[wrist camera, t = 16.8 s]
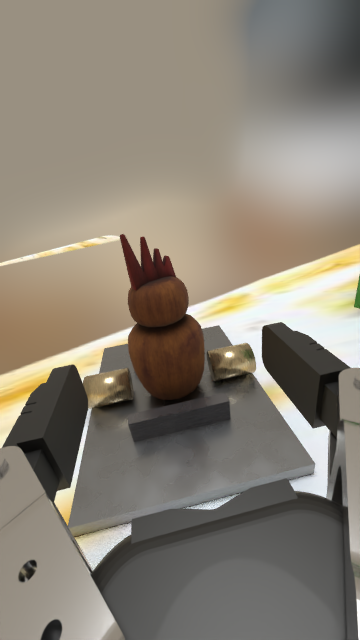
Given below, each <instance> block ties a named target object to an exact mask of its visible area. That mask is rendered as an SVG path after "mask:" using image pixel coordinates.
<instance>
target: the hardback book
mask: <svg viewBox="0 0 360 640" xmlns="http://www.w3.org/2000/svg"><path fill="white" fill-rule="evenodd" d="M354 307H356V308H360V276H359V282H358V288H357V293H356V299H355V304H354Z"/></svg>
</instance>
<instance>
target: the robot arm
mask: <svg viewBox="0 0 360 640" xmlns="http://www.w3.org/2000/svg"><path fill="white" fill-rule="evenodd" d="M262 360H263V363H264V366H265V368H266V370H267V371H268V372H269V374H270V375H271V376H272V377H273V379H274V380H275V381H276V382H277V384H278V385H279V386H280V387H281V389H282V390H283V391H284V392H285V394H286V395H287V396H288V397H289V399H290V400H291V401H292V402H293V404H294V405H295V406H296V408H297V409H298V410H299V411H300V413H301V414H302V415H303V416H304V418H305V419H306V420H307V421H308V423H309V424H310V425H311V426H312V428H317V427H321V426H325V425H326V426H327V428H328V429H329V436H328V486H327V497H326V498H324V497H322V496H319V495H315V494H311V493H306V492H300V491H294V490H293V488H292V486H291V484H290V483H289V481H288V479H287V478H285V479H282V480H278V481H274V482H270V483H266V484H263V485H259V486H255V487H251V488H249V489H248V490H246V491H244V492H243V493H241V494H239V495H238V496H236V497H235V498H233V499H231V500H230V501H228V502H227V503H225V504H223V505H222V506H220V507H218V508H216V509H213V510H201V509H168V510H164V511H160V512H157V513H153V514H149V515H145V516H141V517H138V518H134V519H132V528H131V535H130V536H128V537H126V538H125V539H124V540H122V541H121V542H120V543H118V544H117V545H116V546H115V547H114V548H113V549H112V550H111V551H110V552H109V553H108V554H107V555H106V556H105V557H104V558H103V559H102V560H101V562H100V563H99V564H98V565H97V567H96V568H95V569H94V571H93V569H92V567H91V566H90V564H89V562H88V561H87V559H86V557H85V556H84V554H83V552H82V550H81V549H80V547H79V545H78V543H77V542H76V540H75V538H74V536H73V535H72V533H71V531H70V529H69V528H68V526H67V524H66V522H65V521H64V519H63V517H62V515H61V514H60V512H59V510H58V508H57V507H56V505H55V503H54V500H55V496H56V492H57V491H58V490H62V489H66V488H70V486H71V482H72V477H73V473H74V468H75V464H76V459H77V455H78V451H79V446H80V442H81V437H82V433H83V428H84V424H85V419H86V415H87V411H88V398H87V394H86V391H85V388H84V386H83V383H82V381H81V378H80V376H79V373H78V370H77V368H76V367H75V365H68V366H64V367H59V368H54V369H53V370H52V372H51V374H50V376H49V378H48V380H47V382H46V383H42V384H41V385H40V386H39V387H38V388H37V389H36V390H35V391H34V392H32V393H31V395H30V397H29V399H28V401H27V402H26V404H25V405H26V406H25V407H24V408H23V410H22V412H21V415H20V416H19V417H18V419H17V421H16V423H15V425H14V426H13V428H12V430H11V432H10V434H9V436H8V437H7V439H6V441H5V443H4V445H3V447H2V448H1V449H0V640H360V368H350V367H349V366H348V365H346V364H345V363H344V362H342V361H341V360H340V359H338V358H337V357H336V356H334V355H333V354H332V353H330V352H329V351H328V350H327V349H324V347H323V346H321V345H320V344H319V343H318V344H317V342H316V341H315V340H313V339H312V338H311V337H309V336H308V335H306V334H303V333H300V332H298V331H292V330H291V329H290V328H289V327H287V326H286V325H285V324H284V323H282V322H280V323H275V324H270V325H265V326H263V329H262Z"/></svg>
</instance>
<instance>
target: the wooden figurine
mask: <svg viewBox="0 0 360 640" xmlns="http://www.w3.org/2000/svg"><path fill="white" fill-rule="evenodd" d="M120 239H121V243H122V248H123V253H124V257H125V261H126V266H127V270H128V275H129V278H130V282H131V286H132V287H131V288H130V290H129V293H128V305H129V310H130V313H131V316H132V318H133V319H134V320H135V321H136V322H137V324H136V325H135V326H134V327H133V328H132V330H131V332H130V334H129V336H128V351H129V355H130V359H131V362H132V365H133V368H134V370H135V372H136V374H137V376H138V378H139V380H140V382H141V383H142V385H143V387H144V388H145V389H146V390H147V391H148V392H149V393H150V394H151V395H152V396H153V397H156V398H159V399H162V400H174V399H179V398H182V397H184V396H186V395H188V394H189V393H191V392H192V391H194V390H195V389H196V387H197V386H198V385H199V383H200V381H201V379H202V375H203V371H204V362H205V349H204V335H203V331H202V329H201V326H200V325H199V323H198V322H197V321H196V320H195V319H194V318H193V317H192V316H191V315H188V314H186V311H187V308H188V293H187V289H186V287H185V285H184V283H183V282H182V281H181V280H179V279H178V278H177V277H176V276H175V273H174V270H173V267H172V263H171V261H170V258H169V257H168V256H164V258H163V262H162V259H161V256H160V252H159V249H154V255H153V261H152V258H151V255H150V252H149V249H148V246H147V243H146V240H145V238H144V237H141V238H140V243H141V244H140V245H141V266H140V264H139V263H138V261H137V259H136V257H135V255H134V253H133V251H132V249H131V247H130V245H129V243H128V241H127V239H126V237H125V235H123V234H122V235H120Z"/></svg>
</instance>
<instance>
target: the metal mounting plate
mask: <svg viewBox="0 0 360 640" xmlns="http://www.w3.org/2000/svg"><path fill="white" fill-rule="evenodd" d="M202 331H203V335H204V349H205V362H204V371H203V375H202V379H201V381H200V383H199V385H198V386H197V387H196V389H195V390H194V391H192V392H191V393H189V394H188V395H186V396H184V397H182V398H179V399H174V400H162V399H159V398H156V397H153V396H152V395H151V394H150V393H149V392H148V391H147V390H146V389H145V388H144V387H143V385H142V383H141V382H140V380H139V378H138V376H137V374H136V372H135V370H134V368H133V365H132V362H131V359H130V355H129V351H128V344H125V345H120V346H115V347H110V348H105V349H104V353H103V358H102V362H101V367H100V372H99V374H96V375H91V376H86V377H85V378H84V381H83V386H84V388H85V391H86V394H87V398H88V408H89V409H91V408H92V411H91V416H90V421H89V426H88V431H87V436H86V441H85V445H84V450H83V455H82V460H81V465H80V470H79V475H78V480H77V485H76V489H75V494H74V499H73V504H72V509H71V514H70V519H69V524H68V528H69V529H70V531H71V533H72V535H73V536H74V537H75V536H79V535H83V534H87V533H90V532H94V531H98V530H102V529H105V528H109V527H113V526H117V525H121V524H124V523H128V522H132V519H134V518H138V517H141V516H145V515H149V514H153V513H157V512H160V511H164V510H168V509H181V508H185V507H188V506H192V505H196V504H200V503H204V502H207V501H211V500H215V499H219V498H222V497H226V496H230V495H234V494H238V493H241V492H244V491H246V490H248V489H249V488H251V487H255V486H259V485H263V484H266V483H270V482H274V481H278V480H282V479H285V478H287V479H288V480H290V479H294V478H298V477H302V476H305V475H309V474H313V473H314V468H315V463H314V461H313V460H312V458H311V457H310V456H309V454H308V453H307V451H306V450H305V448H304V447H303V446H302V444H301V443H300V441H299V440H298V438H297V437H296V435H295V434H294V433H293V431H292V430H291V428H290V427H289V425H288V424H287V423H286V421H285V420H284V418H283V417H282V415H281V414H280V412H279V411H278V410H277V408H276V407H275V405H274V404H273V402H272V401H271V400H270V398H269V397H268V395H267V394H266V392H265V391H264V390H263V388H262V387H261V385H260V384H259V382H258V381H257V379H256V378H255V377H254V375H253V374H252V373H253V372H255V370H256V362H255V357H254V354H253V351H252V349H251V347H250V345H249V344H248V343H243V344H238V345H234V346H233V345H232V344H231V342H230V341H229V339H228V338H227V336H226V335H225V334H224V332H223V331H222V329H221V328H220V326H214V327H209V328H204V329H202Z"/></svg>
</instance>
